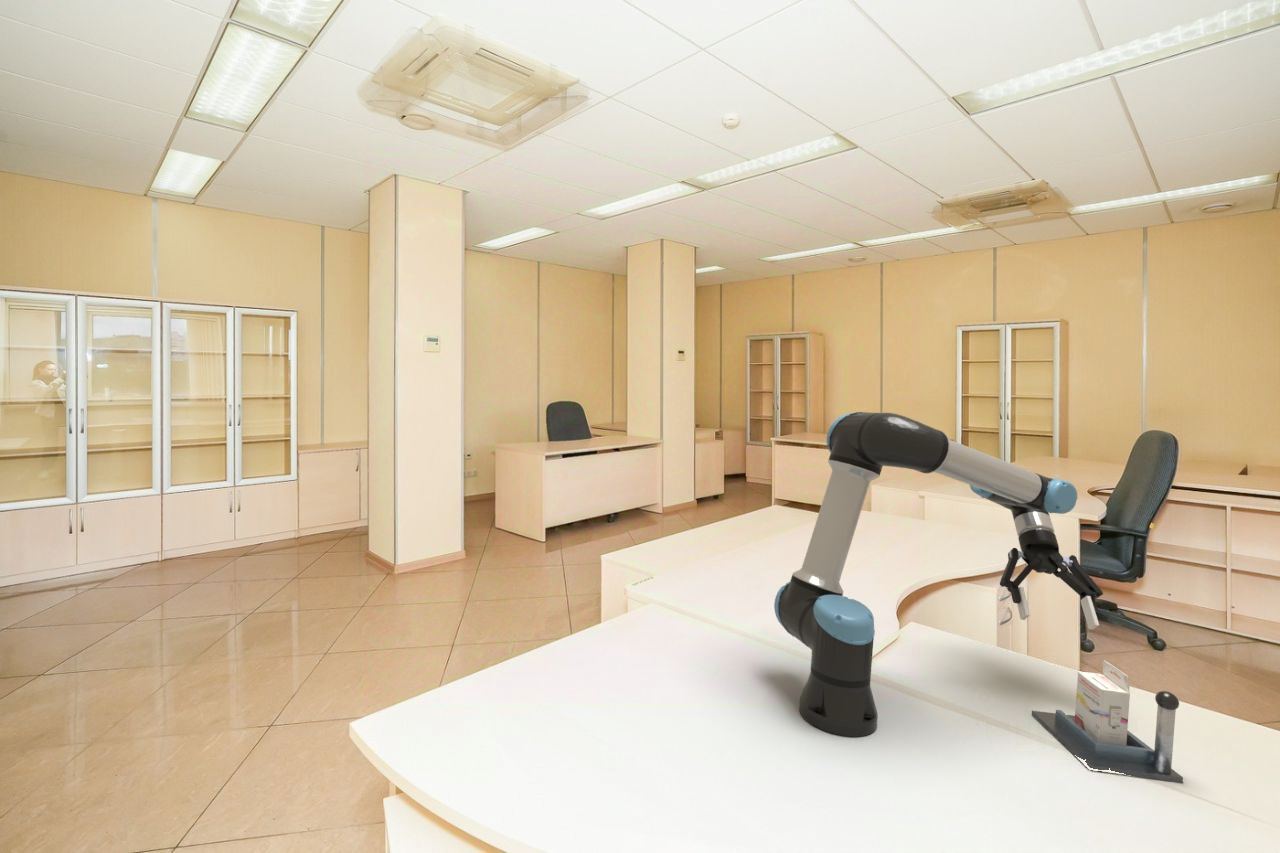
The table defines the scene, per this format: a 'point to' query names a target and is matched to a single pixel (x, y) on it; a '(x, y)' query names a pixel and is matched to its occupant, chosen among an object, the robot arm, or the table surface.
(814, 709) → the robot arm
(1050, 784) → the table surface
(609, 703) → the table surface
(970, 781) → the table surface
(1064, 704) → the table surface
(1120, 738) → the ink cartridge box
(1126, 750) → the keeper bracket
